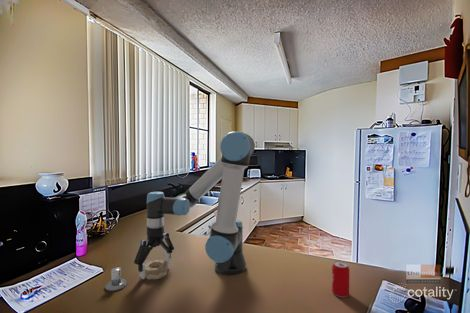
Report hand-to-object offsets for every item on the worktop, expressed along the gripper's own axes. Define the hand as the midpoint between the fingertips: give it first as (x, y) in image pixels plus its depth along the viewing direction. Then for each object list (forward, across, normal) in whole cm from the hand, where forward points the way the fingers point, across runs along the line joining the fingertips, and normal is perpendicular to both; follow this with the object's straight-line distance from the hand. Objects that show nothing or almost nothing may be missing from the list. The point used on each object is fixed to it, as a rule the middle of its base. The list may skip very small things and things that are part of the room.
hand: (155, 271), depth 113 cm
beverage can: (0, -31, +74) cm, 80 cm away
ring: (+1, 0, 0) cm, 1 cm away
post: (+1, +16, -5) cm, 17 cm away
